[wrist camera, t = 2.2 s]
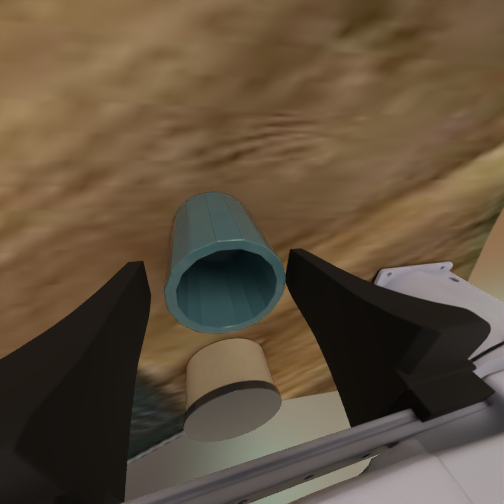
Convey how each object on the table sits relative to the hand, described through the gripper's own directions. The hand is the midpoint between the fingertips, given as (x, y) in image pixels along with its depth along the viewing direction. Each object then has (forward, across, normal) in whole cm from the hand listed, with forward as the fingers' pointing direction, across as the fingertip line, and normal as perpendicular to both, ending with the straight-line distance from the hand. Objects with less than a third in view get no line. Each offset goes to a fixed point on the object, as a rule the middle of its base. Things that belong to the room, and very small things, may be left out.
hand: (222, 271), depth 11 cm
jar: (+5, -1, +16) cm, 17 cm away
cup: (+5, 0, 0) cm, 5 cm away
